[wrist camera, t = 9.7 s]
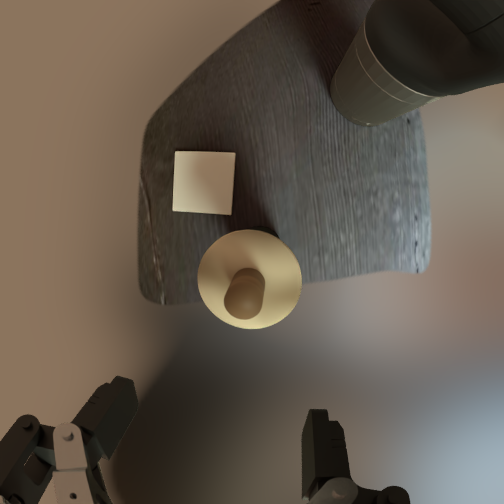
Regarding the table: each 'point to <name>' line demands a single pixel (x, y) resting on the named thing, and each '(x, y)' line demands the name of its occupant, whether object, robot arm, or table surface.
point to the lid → (249, 279)
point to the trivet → (204, 182)
